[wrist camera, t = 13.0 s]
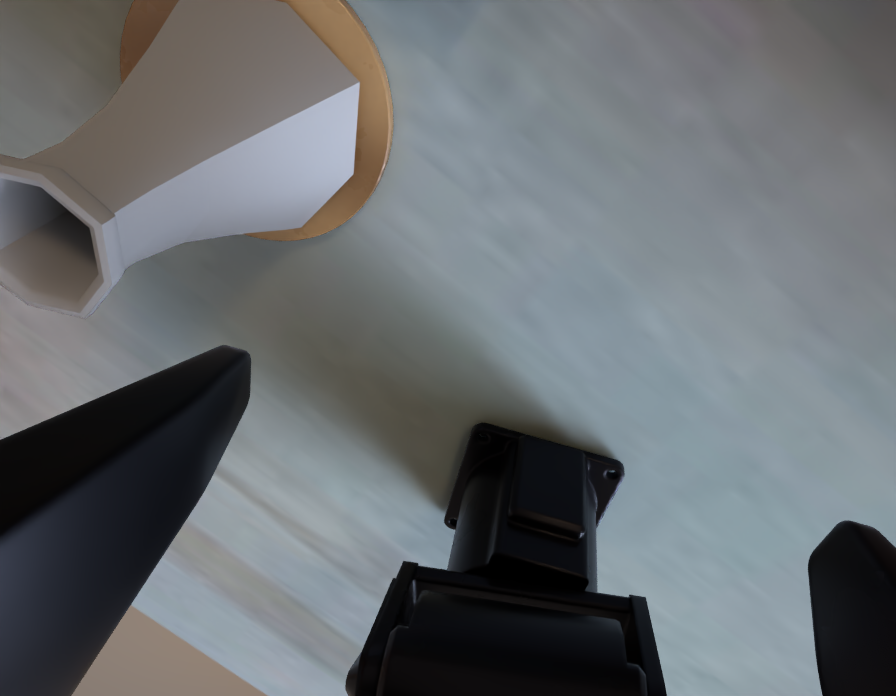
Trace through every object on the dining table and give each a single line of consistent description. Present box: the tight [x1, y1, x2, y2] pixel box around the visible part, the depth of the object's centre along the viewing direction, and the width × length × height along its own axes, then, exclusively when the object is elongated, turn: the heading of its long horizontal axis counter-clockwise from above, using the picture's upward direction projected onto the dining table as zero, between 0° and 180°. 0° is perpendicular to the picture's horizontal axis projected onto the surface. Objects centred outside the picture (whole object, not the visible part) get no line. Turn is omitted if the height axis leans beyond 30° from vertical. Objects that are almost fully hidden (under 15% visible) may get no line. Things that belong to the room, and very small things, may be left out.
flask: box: [0, 0, 360, 319], centre depth 16 cm, size 7×7×10 cm
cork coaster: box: [120, 0, 393, 241], centre depth 20 cm, size 9×9×1 cm
